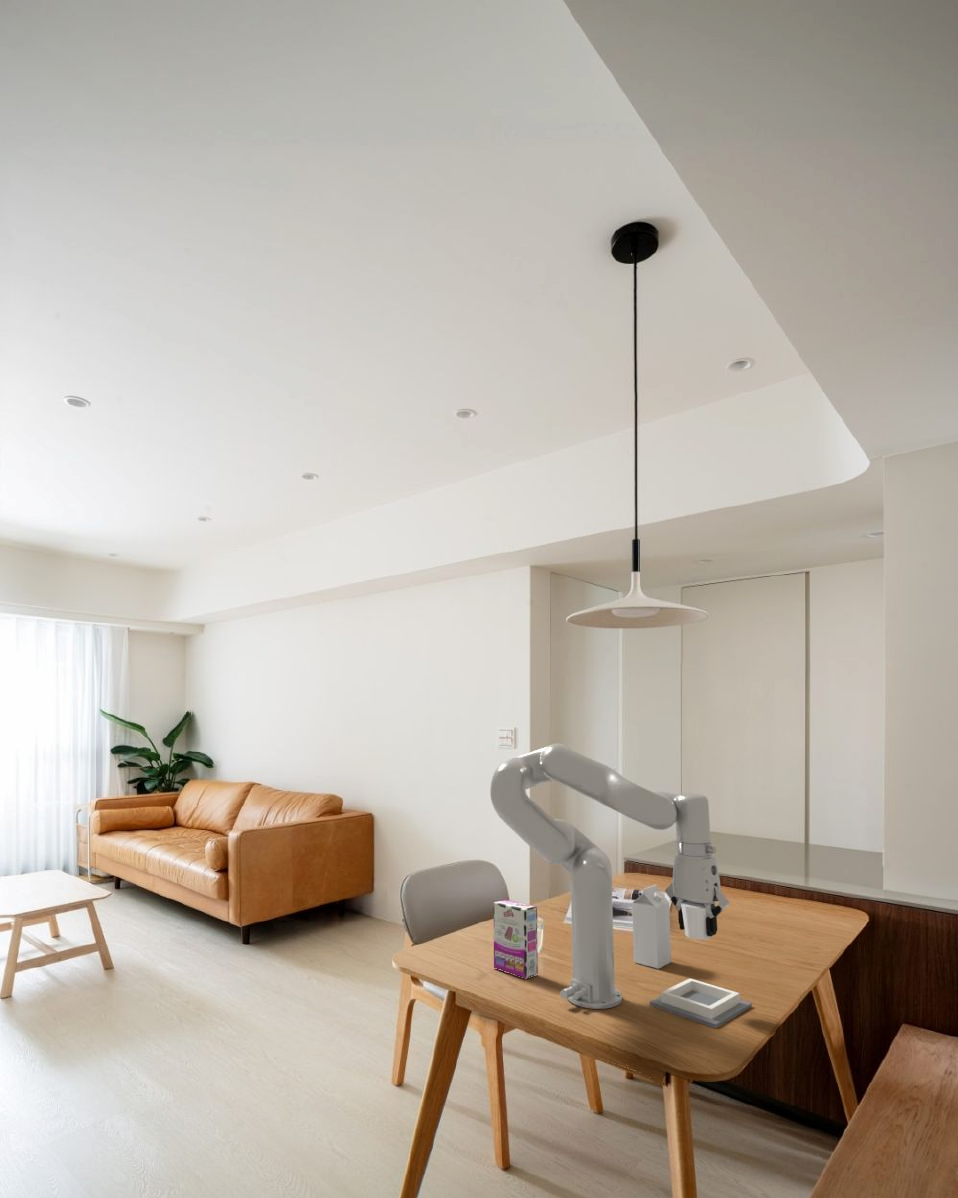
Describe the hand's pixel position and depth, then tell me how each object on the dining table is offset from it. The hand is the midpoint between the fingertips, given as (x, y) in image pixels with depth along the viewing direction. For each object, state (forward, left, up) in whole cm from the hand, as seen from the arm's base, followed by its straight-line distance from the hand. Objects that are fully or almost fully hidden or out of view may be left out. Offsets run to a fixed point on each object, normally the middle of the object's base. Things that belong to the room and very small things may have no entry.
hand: (697, 931), depth 163 cm
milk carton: (+16, +23, -16) cm, 32 cm away
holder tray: (0, 0, -16) cm, 16 cm away
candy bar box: (-15, +43, -16) cm, 48 cm away
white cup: (0, 0, -1) cm, 1 cm away
